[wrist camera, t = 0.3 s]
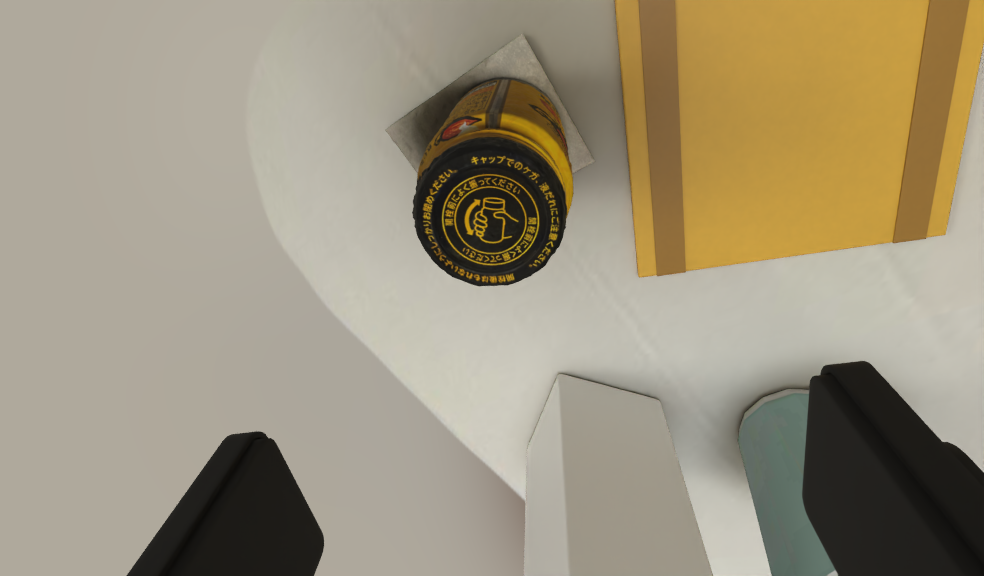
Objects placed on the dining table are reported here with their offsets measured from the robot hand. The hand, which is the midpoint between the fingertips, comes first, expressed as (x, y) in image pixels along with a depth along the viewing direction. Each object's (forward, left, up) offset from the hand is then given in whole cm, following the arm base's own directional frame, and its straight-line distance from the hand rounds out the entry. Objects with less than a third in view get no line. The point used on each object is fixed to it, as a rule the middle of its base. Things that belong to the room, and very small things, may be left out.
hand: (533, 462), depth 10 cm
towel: (-3, +13, -22) cm, 25 cm away
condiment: (-1, -2, -22) cm, 22 cm away
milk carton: (+19, +1, -22) cm, 29 cm away
